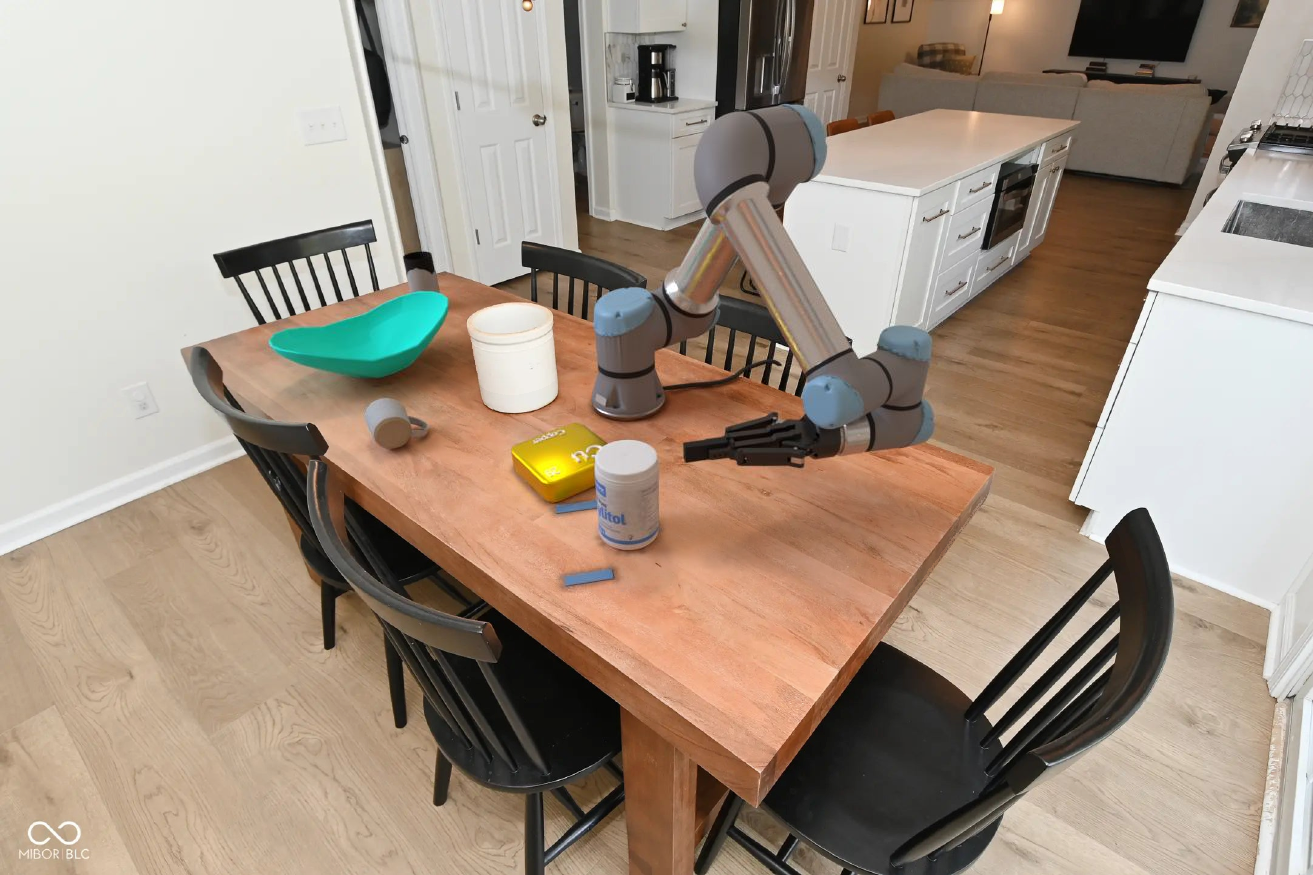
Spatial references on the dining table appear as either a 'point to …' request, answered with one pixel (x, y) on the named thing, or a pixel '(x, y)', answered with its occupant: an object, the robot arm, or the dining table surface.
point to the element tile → (559, 461)
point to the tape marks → (590, 575)
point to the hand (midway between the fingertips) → (684, 452)
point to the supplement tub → (627, 494)
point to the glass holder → (421, 272)
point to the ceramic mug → (392, 423)
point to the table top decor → (368, 338)
